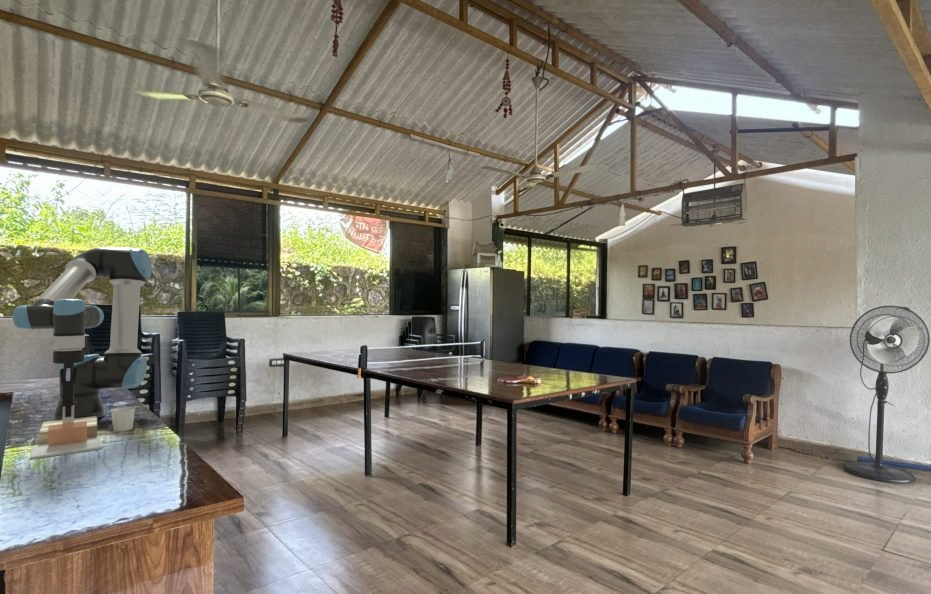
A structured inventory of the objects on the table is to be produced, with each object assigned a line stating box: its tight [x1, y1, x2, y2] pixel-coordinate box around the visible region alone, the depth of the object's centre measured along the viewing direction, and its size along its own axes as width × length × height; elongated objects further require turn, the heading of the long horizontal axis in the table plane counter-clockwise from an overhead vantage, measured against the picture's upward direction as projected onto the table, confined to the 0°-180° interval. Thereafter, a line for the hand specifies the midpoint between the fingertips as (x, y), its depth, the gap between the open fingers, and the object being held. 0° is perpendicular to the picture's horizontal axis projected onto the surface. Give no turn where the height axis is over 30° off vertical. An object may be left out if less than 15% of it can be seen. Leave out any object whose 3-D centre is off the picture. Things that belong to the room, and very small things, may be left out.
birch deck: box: [38, 416, 98, 445], centre depth 160 cm, size 16×14×4 cm
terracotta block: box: [48, 421, 87, 446], centre depth 149 cm, size 6×9×2 cm
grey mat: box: [29, 436, 103, 460], centre depth 147 cm, size 14×16×1 cm
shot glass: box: [110, 406, 136, 432], centre depth 169 cm, size 7×7×7 cm
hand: (68, 427), depth 151 cm, fingers closed
